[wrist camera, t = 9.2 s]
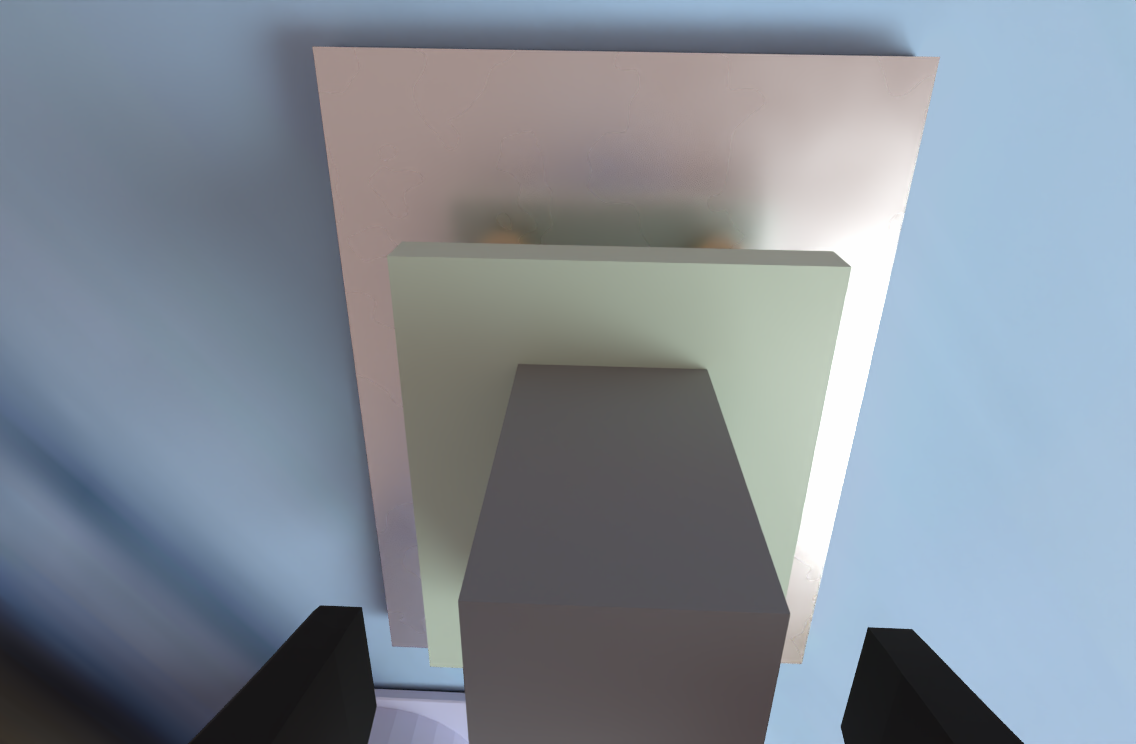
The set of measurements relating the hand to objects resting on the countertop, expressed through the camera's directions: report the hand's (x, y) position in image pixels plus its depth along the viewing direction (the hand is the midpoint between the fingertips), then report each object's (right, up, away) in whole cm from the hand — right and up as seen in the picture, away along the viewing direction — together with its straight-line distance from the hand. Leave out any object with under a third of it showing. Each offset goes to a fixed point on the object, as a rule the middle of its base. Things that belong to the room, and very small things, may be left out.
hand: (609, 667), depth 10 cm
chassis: (0, +4, +8) cm, 8 cm away
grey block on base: (0, +2, +5) cm, 5 cm away
